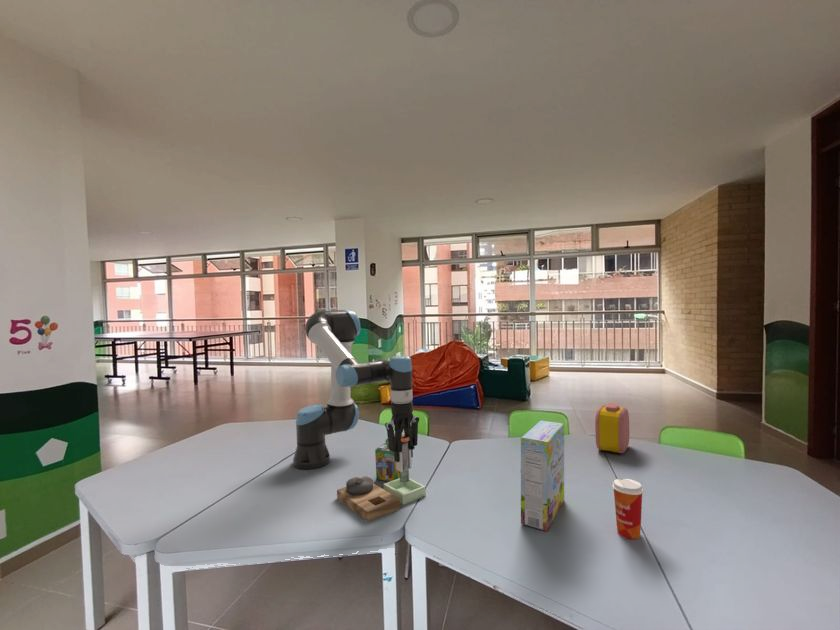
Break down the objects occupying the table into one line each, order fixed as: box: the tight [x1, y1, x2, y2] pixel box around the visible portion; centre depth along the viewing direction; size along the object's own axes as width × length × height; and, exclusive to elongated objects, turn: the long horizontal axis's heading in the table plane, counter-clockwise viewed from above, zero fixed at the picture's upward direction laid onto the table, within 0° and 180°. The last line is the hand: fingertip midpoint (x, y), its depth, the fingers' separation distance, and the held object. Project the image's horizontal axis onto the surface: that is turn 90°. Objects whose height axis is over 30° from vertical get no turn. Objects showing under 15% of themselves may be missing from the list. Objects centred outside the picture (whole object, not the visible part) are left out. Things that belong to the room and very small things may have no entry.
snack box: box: [520, 420, 565, 532], centre depth 122 cm, size 22×9×26 cm, turn 148°
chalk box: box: [374, 437, 400, 482], centre depth 151 cm, size 9×9×15 cm
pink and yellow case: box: [594, 402, 630, 455], centre depth 174 cm, size 18×11×19 cm, turn 144°
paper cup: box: [612, 478, 645, 540], centre depth 109 cm, size 8×8×14 cm
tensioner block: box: [336, 475, 401, 523], centre depth 130 cm, size 20×12×7 cm, turn 39°
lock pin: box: [400, 434, 410, 483], centre depth 136 cm, size 4×4×15 cm
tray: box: [383, 477, 427, 505], centre depth 136 cm, size 12×10×3 cm
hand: (404, 468), depth 136 cm, fingers closed on lock pin, 3 cm apart
